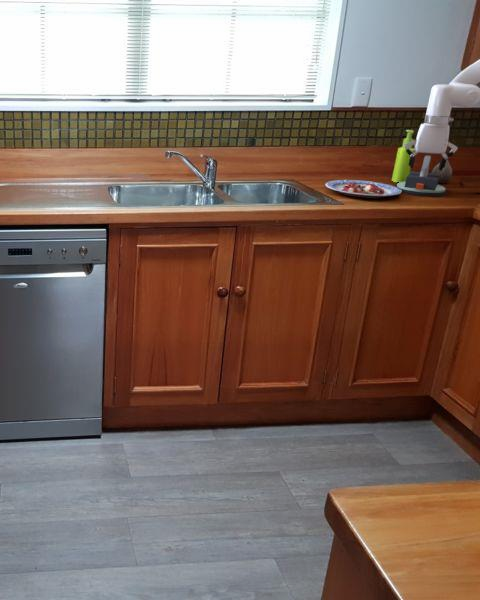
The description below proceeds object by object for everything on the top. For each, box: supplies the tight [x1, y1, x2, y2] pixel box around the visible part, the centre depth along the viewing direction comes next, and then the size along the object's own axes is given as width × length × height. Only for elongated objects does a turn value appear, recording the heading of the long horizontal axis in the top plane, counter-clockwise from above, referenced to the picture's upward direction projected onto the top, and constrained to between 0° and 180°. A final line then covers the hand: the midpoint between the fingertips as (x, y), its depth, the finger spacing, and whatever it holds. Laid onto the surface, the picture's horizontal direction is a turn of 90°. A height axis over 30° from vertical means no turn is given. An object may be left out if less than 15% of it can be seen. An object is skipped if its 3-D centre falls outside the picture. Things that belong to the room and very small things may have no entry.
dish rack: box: [396, 155, 446, 193], centre depth 225 cm, size 16×16×12 cm
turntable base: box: [395, 185, 447, 198], centre depth 228 cm, size 17×17×1 cm
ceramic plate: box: [325, 179, 402, 199], centre depth 224 cm, size 26×26×3 cm
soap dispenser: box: [391, 129, 415, 183], centre depth 241 cm, size 6×7×20 cm
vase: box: [431, 159, 453, 185], centre depth 242 cm, size 7×7×9 cm
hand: (425, 168), depth 224 cm, fingers open, 9 cm apart
